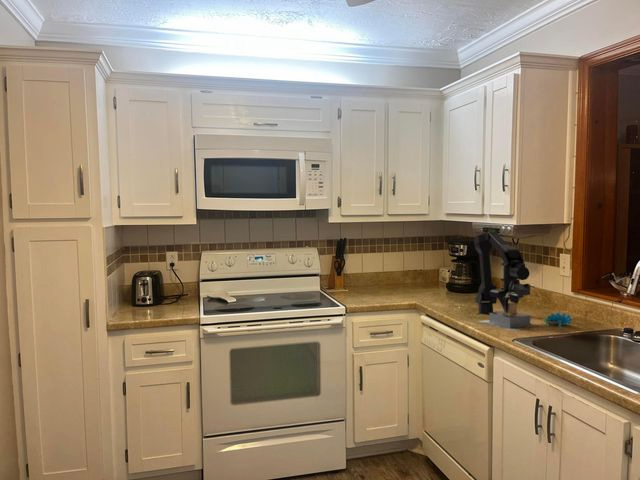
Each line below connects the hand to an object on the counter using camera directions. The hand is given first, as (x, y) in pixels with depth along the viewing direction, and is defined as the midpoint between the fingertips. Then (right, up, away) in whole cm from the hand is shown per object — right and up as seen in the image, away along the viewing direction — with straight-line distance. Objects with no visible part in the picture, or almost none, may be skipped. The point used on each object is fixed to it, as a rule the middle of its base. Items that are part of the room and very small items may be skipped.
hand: (509, 311), depth 213 cm
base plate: (0, -7, 0) cm, 7 cm away
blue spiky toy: (+20, -7, -3) cm, 21 cm away
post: (0, -6, 0) cm, 6 cm away
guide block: (0, -6, 0) cm, 6 cm away
